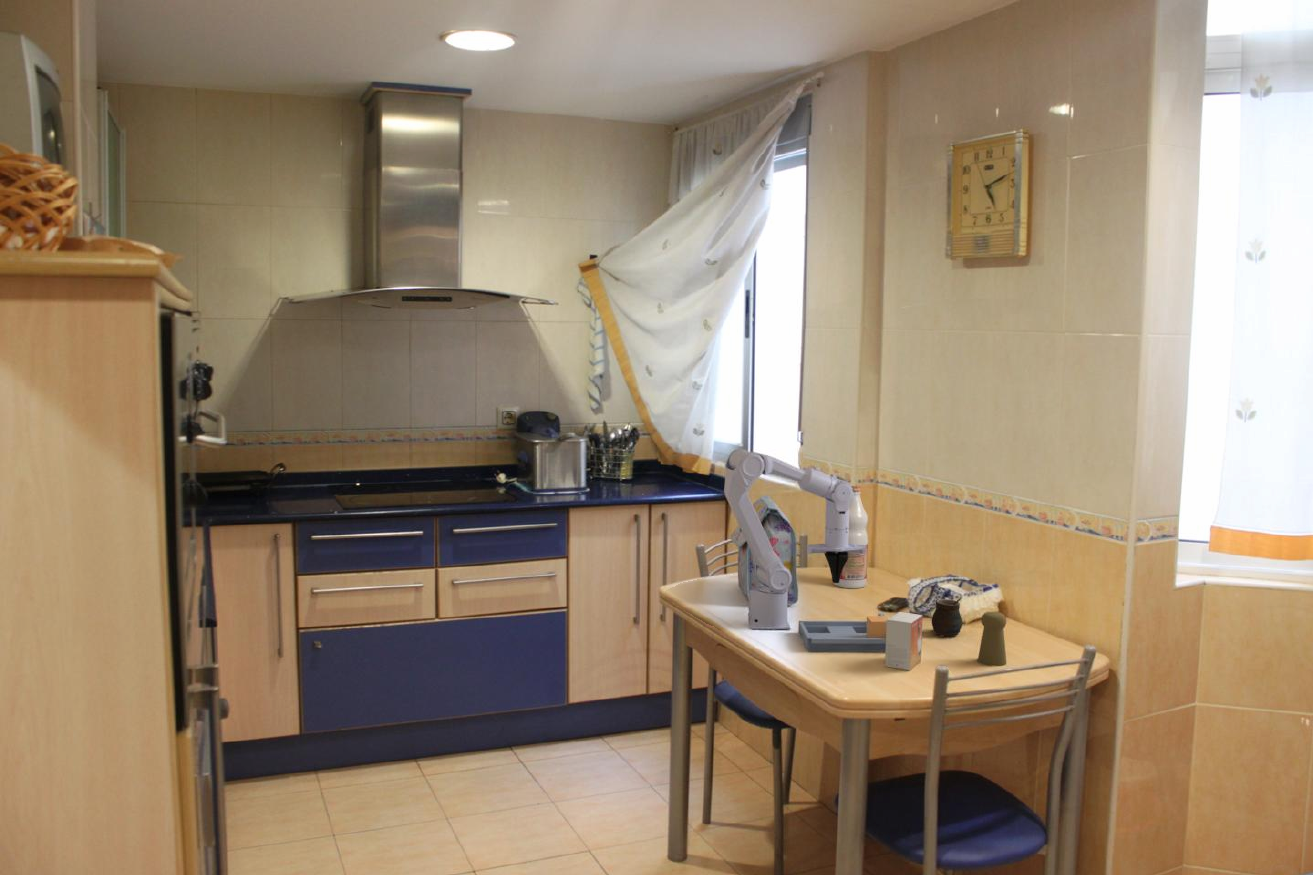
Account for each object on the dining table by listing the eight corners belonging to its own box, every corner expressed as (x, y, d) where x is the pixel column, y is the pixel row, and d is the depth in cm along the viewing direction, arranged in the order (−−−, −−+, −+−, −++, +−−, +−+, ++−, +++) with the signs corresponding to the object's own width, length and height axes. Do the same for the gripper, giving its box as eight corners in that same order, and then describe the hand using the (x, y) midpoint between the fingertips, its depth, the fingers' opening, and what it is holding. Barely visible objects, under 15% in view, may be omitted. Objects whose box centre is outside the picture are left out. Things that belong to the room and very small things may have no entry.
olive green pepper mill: (973, 657, 242) (975, 609, 241) (999, 657, 242) (1002, 608, 241) (983, 666, 236) (986, 616, 235) (1011, 665, 236) (1013, 616, 235)
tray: (807, 651, 245) (808, 630, 244) (798, 632, 260) (798, 612, 259) (896, 652, 245) (897, 630, 245) (881, 633, 260) (882, 612, 260)
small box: (909, 671, 232) (911, 623, 231) (884, 666, 235) (885, 619, 234) (921, 661, 239) (923, 614, 237) (897, 657, 242) (898, 611, 240)
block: (870, 640, 247) (871, 621, 246) (866, 635, 251) (867, 616, 251) (890, 641, 247) (890, 621, 246) (885, 635, 251) (886, 616, 251)
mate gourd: (940, 628, 265) (942, 588, 264) (968, 635, 260) (971, 594, 259) (924, 633, 260) (926, 592, 259) (953, 641, 255) (955, 599, 254)
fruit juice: (826, 584, 308) (828, 486, 305) (846, 579, 315) (848, 483, 312) (853, 590, 302) (856, 490, 299) (873, 585, 308) (876, 487, 305)
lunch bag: (728, 586, 305) (729, 493, 302) (787, 586, 306) (789, 493, 303) (737, 607, 283) (738, 506, 280) (801, 607, 283) (803, 507, 280)
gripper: (810, 530, 264) (808, 585, 265) (869, 531, 264) (868, 586, 265) (805, 525, 271) (804, 578, 272) (863, 525, 271) (862, 579, 272)
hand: (835, 582), depth 269 cm, fingers closed
